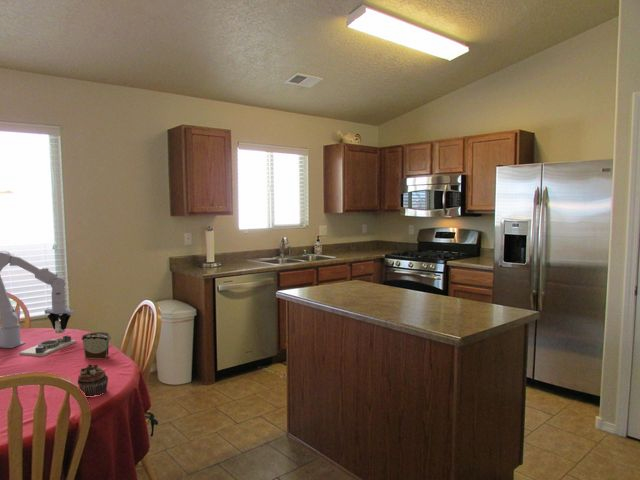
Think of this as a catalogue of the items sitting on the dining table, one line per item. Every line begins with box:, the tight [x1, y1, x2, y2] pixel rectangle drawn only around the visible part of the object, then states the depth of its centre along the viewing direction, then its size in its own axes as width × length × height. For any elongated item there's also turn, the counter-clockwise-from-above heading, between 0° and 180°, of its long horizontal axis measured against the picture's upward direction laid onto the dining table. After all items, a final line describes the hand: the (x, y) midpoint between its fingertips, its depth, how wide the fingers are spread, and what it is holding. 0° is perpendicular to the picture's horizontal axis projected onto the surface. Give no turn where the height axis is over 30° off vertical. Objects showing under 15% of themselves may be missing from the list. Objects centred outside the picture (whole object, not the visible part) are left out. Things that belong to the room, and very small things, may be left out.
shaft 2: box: [56, 335, 72, 343], centre depth 211 cm, size 5×3×3 cm, turn 149°
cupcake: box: [77, 364, 109, 396], centre depth 157 cm, size 10×10×10 cm
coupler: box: [54, 318, 66, 334], centre depth 218 cm, size 4×4×6 cm
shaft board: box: [18, 338, 77, 357], centre depth 205 cm, size 12×20×2 cm, turn 169°
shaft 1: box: [35, 344, 47, 353], centre depth 198 cm, size 5×3×3 cm, turn 9°
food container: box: [81, 331, 112, 360], centre depth 194 cm, size 12×6×10 cm, turn 84°
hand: (59, 328), depth 218 cm, fingers closed on coupler, 4 cm apart
